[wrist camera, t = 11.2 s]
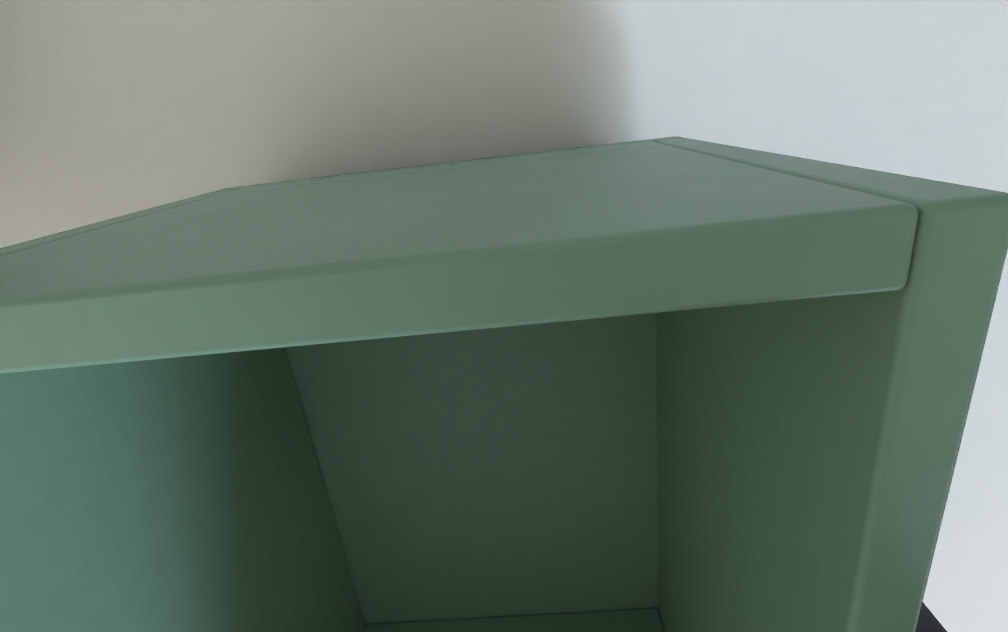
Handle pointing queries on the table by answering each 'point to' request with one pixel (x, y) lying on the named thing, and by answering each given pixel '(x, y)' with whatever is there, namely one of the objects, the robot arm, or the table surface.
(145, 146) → the table surface
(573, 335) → the box
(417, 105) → the table surface
